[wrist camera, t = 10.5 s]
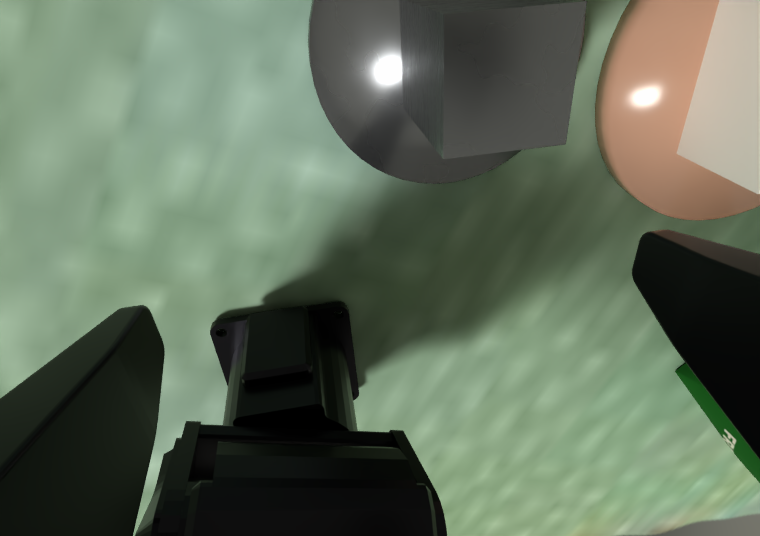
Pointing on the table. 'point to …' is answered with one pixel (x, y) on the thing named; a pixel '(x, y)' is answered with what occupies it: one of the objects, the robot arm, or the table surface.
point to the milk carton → (720, 421)
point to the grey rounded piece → (445, 80)
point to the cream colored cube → (728, 98)
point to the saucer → (660, 110)
